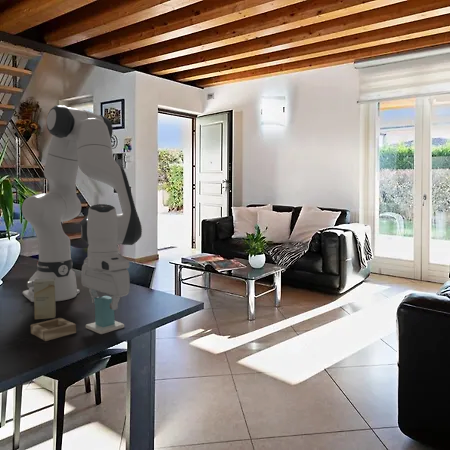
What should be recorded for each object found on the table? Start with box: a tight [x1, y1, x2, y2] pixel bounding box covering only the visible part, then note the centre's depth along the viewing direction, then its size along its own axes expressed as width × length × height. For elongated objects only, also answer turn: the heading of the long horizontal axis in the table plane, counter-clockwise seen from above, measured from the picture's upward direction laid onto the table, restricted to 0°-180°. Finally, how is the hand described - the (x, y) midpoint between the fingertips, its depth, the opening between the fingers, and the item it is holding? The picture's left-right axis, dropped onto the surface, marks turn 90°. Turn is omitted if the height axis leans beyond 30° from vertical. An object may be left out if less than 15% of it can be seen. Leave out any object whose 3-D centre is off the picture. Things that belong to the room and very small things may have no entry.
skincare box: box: [33, 278, 57, 320], centre depth 139 cm, size 6×4×12 cm
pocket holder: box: [30, 317, 77, 342], centre depth 124 cm, size 9×9×2 cm
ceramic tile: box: [85, 320, 125, 335], centre depth 129 cm, size 8×8×1 cm
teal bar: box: [94, 295, 116, 327], centre depth 129 cm, size 4×4×8 cm
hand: (104, 306), depth 129 cm, fingers open, 8 cm apart
